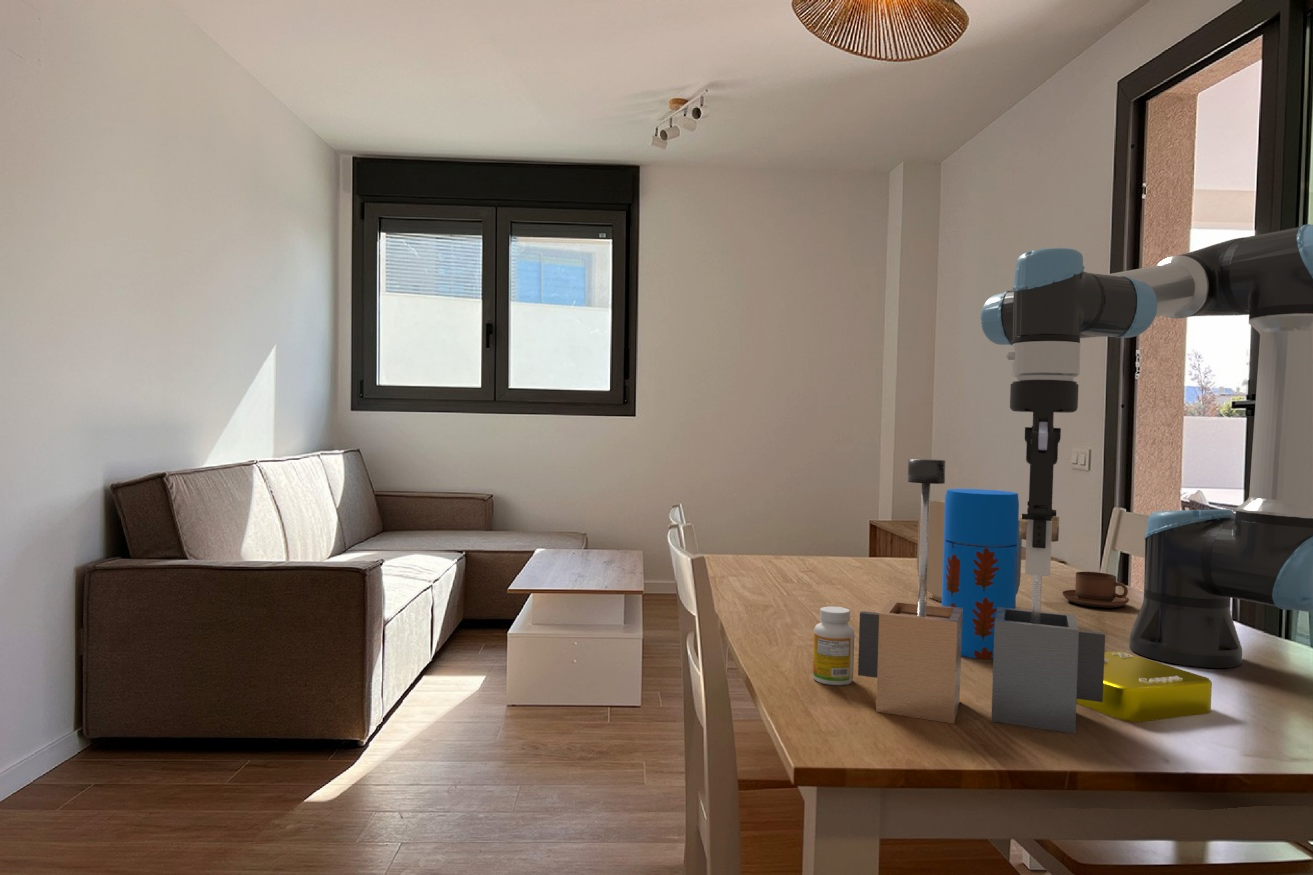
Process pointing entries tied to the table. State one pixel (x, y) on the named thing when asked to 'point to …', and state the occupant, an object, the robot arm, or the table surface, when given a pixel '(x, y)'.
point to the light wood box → (913, 659)
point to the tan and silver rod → (1037, 579)
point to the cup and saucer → (1096, 590)
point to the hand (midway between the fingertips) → (1037, 571)
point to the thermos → (980, 562)
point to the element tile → (1149, 690)
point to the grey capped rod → (925, 517)
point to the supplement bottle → (833, 647)
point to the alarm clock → (937, 547)
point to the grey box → (1044, 669)
